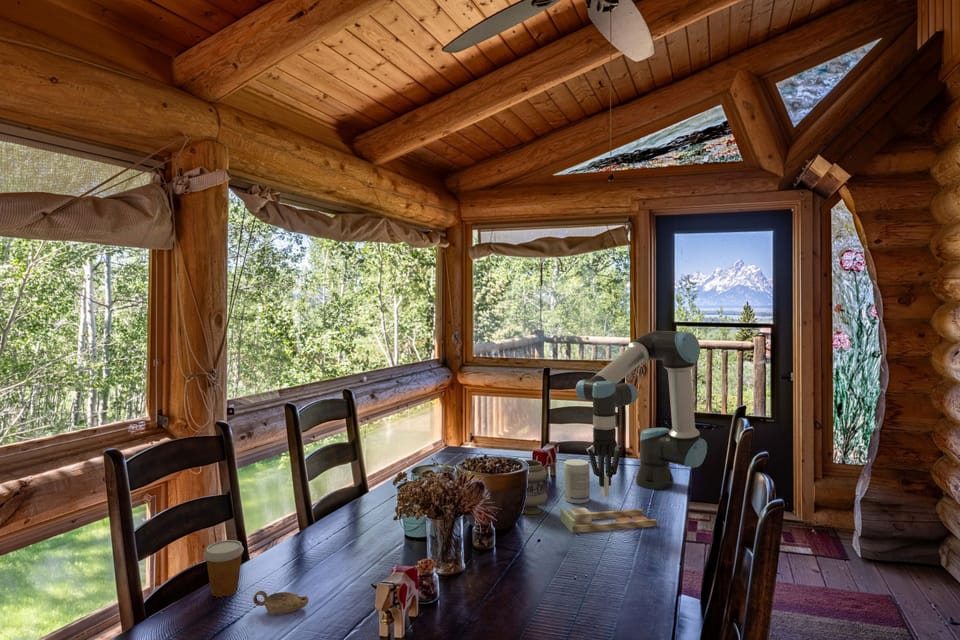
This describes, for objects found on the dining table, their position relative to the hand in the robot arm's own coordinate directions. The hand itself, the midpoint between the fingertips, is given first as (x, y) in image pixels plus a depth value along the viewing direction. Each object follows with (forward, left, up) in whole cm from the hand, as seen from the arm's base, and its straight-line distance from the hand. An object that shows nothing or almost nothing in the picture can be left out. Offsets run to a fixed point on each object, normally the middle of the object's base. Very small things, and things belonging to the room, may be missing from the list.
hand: (605, 495), depth 206 cm
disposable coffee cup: (+117, +26, -10) cm, 120 cm away
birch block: (+9, 0, -10) cm, 13 cm away
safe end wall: (+14, 0, -10) cm, 17 cm away
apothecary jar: (+22, -16, -10) cm, 29 cm away
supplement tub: (+1, -25, -10) cm, 27 cm away
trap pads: (-11, 0, -10) cm, 14 cm away
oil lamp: (+101, +39, -10) cm, 109 cm away
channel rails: (-1, 0, -10) cm, 10 cm away
